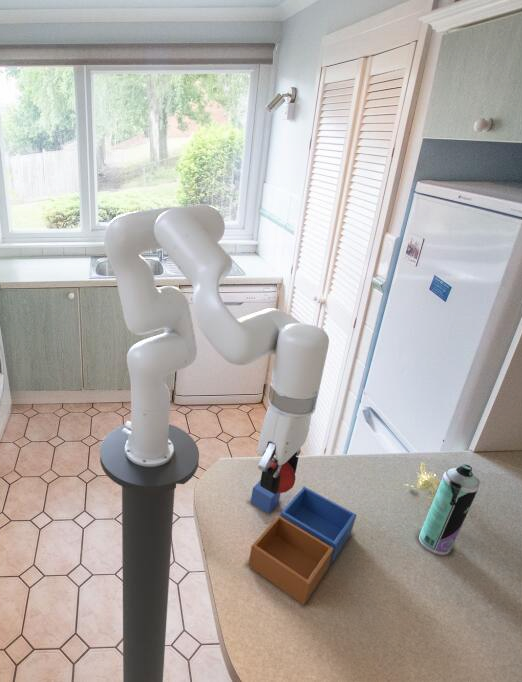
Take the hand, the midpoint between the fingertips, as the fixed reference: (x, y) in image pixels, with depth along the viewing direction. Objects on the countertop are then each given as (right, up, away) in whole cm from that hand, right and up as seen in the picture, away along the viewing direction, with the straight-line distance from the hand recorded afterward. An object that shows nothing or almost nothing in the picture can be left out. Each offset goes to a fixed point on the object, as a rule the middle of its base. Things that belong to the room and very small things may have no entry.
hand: (277, 479), depth 83 cm
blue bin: (+11, -14, +11) cm, 21 cm away
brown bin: (+3, -18, +4) cm, 19 cm away
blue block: (+3, -11, +18) cm, 22 cm away
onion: (0, -3, +1) cm, 3 cm away
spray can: (+35, -16, +9) cm, 39 cm away
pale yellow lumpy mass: (+41, -11, +20) cm, 47 cm away
